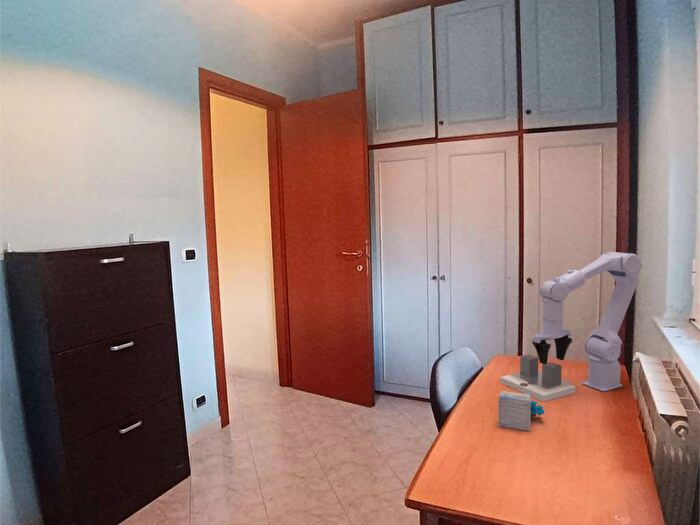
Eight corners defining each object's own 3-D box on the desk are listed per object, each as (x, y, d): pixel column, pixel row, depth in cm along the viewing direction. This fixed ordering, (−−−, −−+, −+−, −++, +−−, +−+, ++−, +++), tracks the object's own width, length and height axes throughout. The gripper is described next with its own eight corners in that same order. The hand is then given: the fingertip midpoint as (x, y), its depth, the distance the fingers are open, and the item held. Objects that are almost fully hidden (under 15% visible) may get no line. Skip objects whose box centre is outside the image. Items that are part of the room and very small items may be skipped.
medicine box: (530, 424, 124) (531, 394, 123) (529, 432, 120) (530, 400, 119) (500, 420, 127) (500, 390, 126) (498, 427, 123) (498, 396, 122)
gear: (552, 414, 126) (534, 395, 122) (544, 433, 124) (526, 414, 120) (517, 406, 135) (499, 388, 132) (510, 424, 133) (492, 406, 129)
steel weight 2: (561, 383, 144) (561, 365, 144) (552, 386, 143) (552, 367, 142) (550, 379, 148) (551, 362, 147) (541, 382, 146) (542, 364, 146)
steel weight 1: (538, 375, 153) (538, 357, 152) (529, 377, 151) (529, 359, 150) (528, 371, 156) (528, 354, 156) (520, 373, 154) (520, 356, 154)
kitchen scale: (530, 375, 160) (530, 367, 160) (575, 392, 144) (575, 384, 144) (500, 382, 154) (500, 374, 154) (543, 402, 138) (543, 393, 138)
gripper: (558, 314, 150) (557, 354, 151) (525, 319, 144) (525, 361, 145) (577, 318, 144) (575, 360, 145) (544, 324, 137) (543, 368, 139)
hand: (551, 361), depth 145 cm, fingers open, 7 cm apart
